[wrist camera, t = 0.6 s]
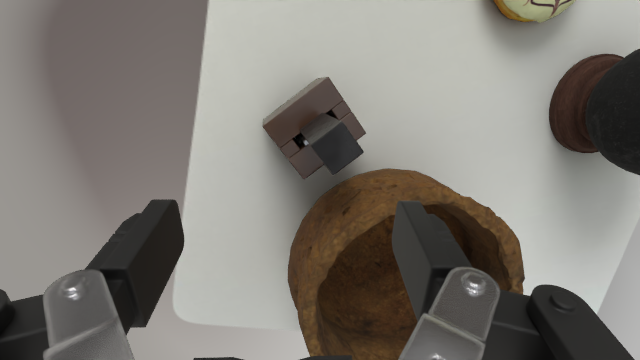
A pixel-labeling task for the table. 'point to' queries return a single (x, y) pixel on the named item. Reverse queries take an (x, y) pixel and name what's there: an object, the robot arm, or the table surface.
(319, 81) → the knife block
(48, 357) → the robot arm
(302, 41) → the table surface
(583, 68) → the black ball on stand
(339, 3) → the table surface
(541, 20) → the decorated donut
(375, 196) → the bowl
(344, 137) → the knife
